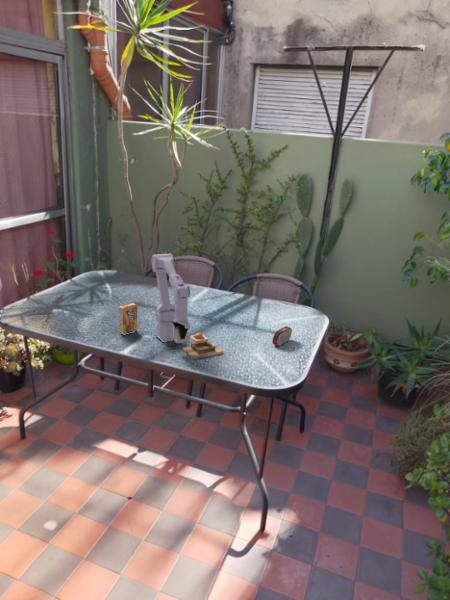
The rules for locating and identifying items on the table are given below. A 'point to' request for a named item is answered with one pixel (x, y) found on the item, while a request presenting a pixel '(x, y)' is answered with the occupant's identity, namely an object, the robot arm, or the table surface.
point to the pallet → (202, 350)
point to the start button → (198, 336)
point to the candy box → (128, 318)
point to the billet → (178, 336)
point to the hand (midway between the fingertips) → (180, 336)
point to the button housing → (193, 340)
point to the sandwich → (282, 336)
